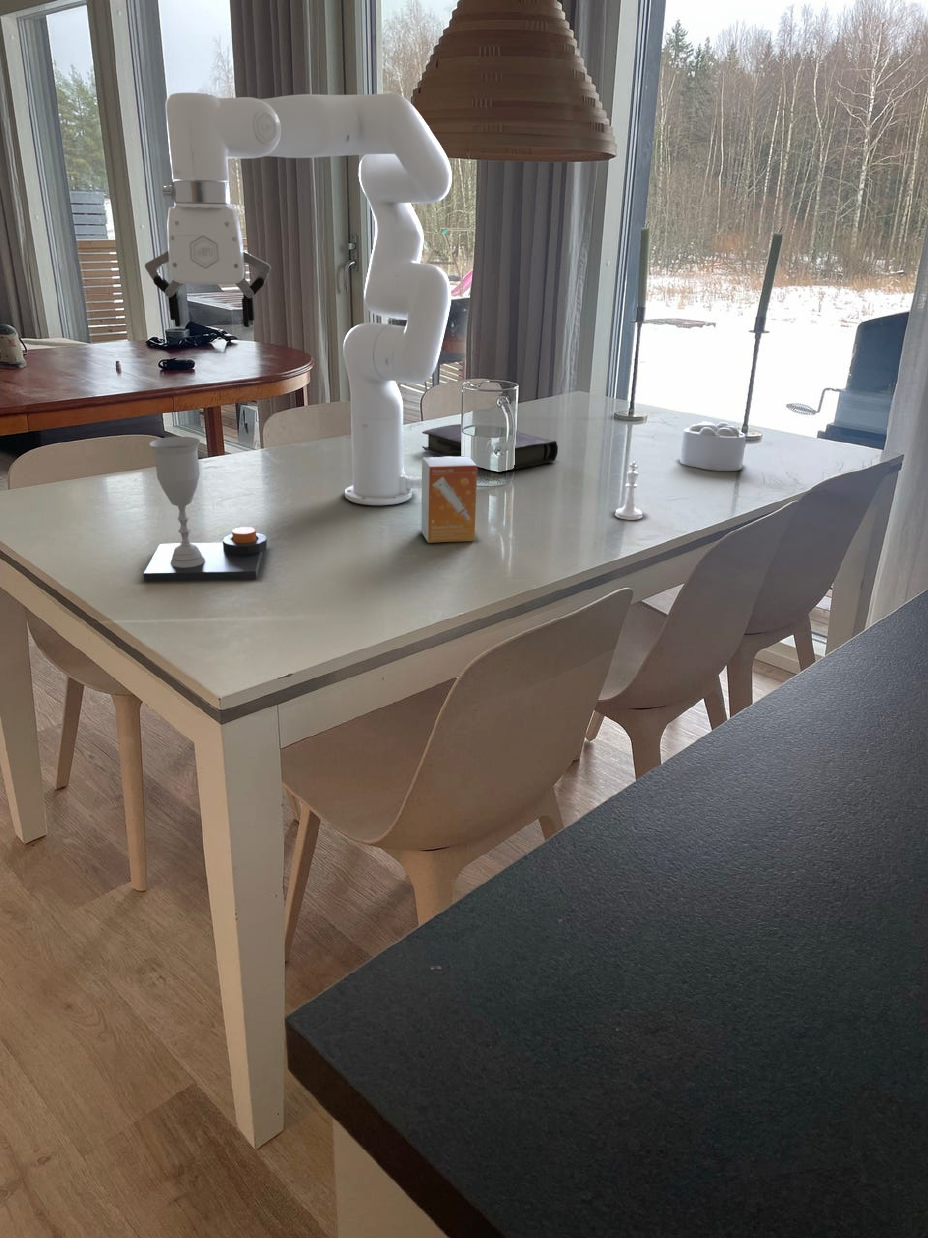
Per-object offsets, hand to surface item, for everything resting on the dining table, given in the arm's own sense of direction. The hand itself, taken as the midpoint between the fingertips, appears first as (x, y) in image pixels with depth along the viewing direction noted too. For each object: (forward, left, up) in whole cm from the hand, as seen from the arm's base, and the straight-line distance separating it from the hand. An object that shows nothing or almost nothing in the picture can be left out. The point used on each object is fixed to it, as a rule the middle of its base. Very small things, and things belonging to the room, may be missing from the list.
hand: (213, 325), depth 135 cm
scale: (+3, +8, -34) cm, 35 cm away
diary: (-49, -58, -34) cm, 83 cm away
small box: (-35, -4, -34) cm, 49 cm away
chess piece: (-69, -14, -34) cm, 78 cm away
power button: (-3, +4, -32) cm, 32 cm away
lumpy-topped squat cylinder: (-98, -50, -34) cm, 115 cm away
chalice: (+5, +9, -33) cm, 35 cm away
